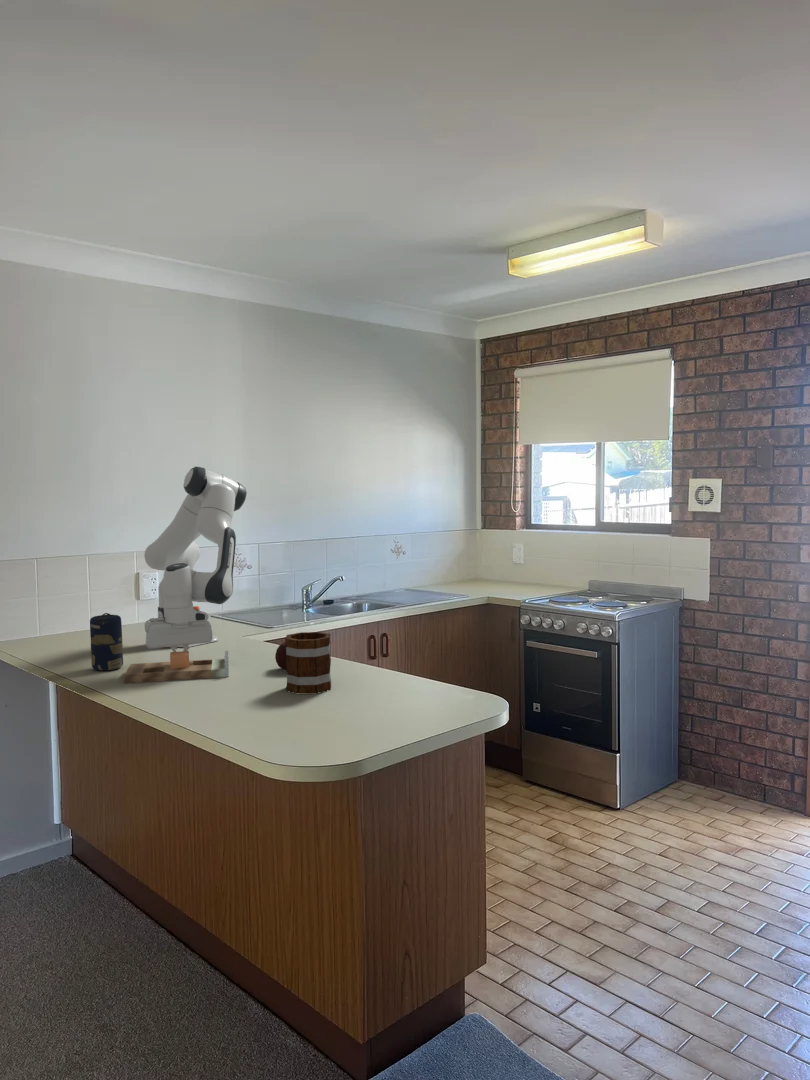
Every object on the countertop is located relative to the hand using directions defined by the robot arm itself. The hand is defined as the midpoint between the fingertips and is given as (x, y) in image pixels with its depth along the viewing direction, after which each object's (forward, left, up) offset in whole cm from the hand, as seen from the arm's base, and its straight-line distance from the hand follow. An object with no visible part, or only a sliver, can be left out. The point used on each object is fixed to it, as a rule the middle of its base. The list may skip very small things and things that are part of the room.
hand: (180, 659), depth 248 cm
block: (+2, +3, -1) cm, 4 cm away
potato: (-24, +24, -4) cm, 35 cm away
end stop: (-10, +11, -4) cm, 15 cm away
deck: (+3, +3, -4) cm, 6 cm away
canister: (+15, -21, -4) cm, 25 cm away
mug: (-17, +45, -4) cm, 49 cm away
